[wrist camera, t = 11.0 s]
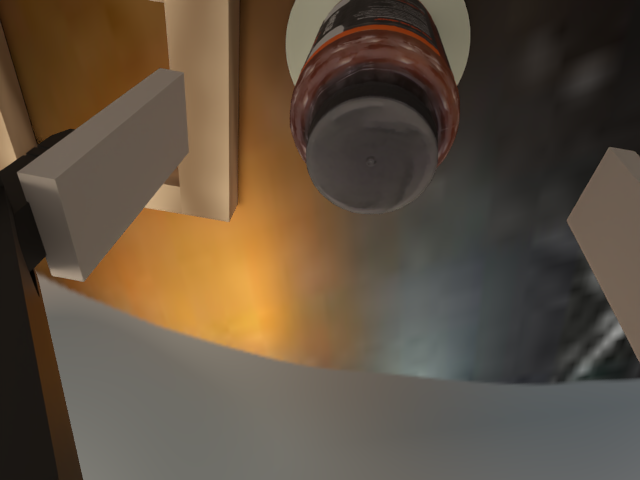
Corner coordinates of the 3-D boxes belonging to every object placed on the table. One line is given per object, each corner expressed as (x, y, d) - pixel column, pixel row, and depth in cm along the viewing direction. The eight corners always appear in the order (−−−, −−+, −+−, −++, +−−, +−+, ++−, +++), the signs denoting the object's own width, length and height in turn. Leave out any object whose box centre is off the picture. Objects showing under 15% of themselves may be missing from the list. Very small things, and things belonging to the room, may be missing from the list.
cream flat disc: (496, -41, 20) (499, -40, 19) (438, 143, 25) (439, 148, 25) (295, -74, 20) (293, -73, 19) (281, 117, 26) (279, 122, 25)
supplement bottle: (302, 1, 21) (243, 82, 12) (431, -34, 20) (470, 30, 11) (332, 119, 25) (302, 249, 16) (443, 97, 23) (479, 227, 14)
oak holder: (240, -43, 21) (228, -38, 19) (237, 204, 30) (229, 222, 28) (-95, -98, 21) (-133, -96, 20) (1, 164, 30) (-21, 179, 28)
